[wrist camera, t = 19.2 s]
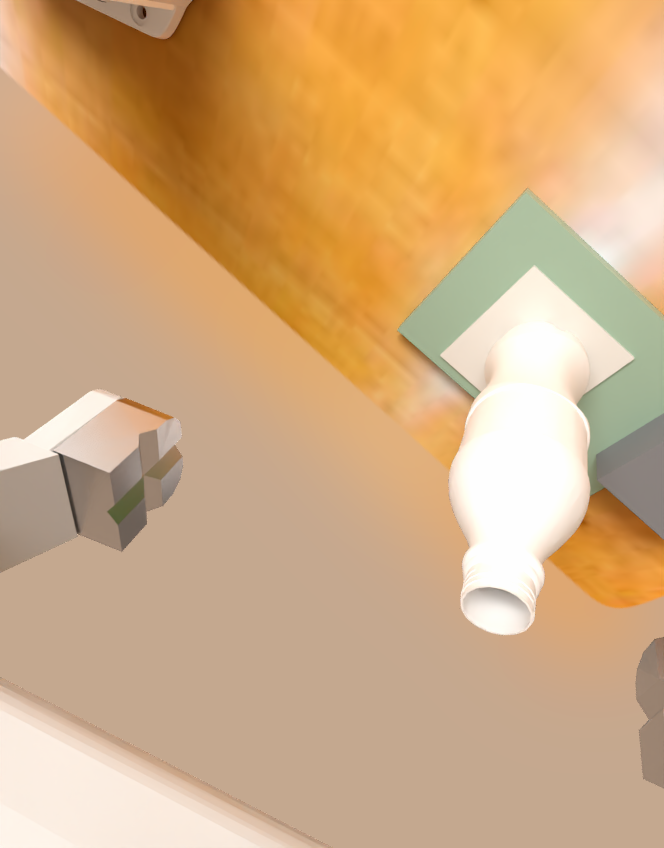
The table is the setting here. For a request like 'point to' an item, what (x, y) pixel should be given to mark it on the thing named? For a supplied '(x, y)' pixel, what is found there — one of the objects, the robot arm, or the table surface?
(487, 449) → the water bottle
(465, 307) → the green board with pad
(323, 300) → the table surface
